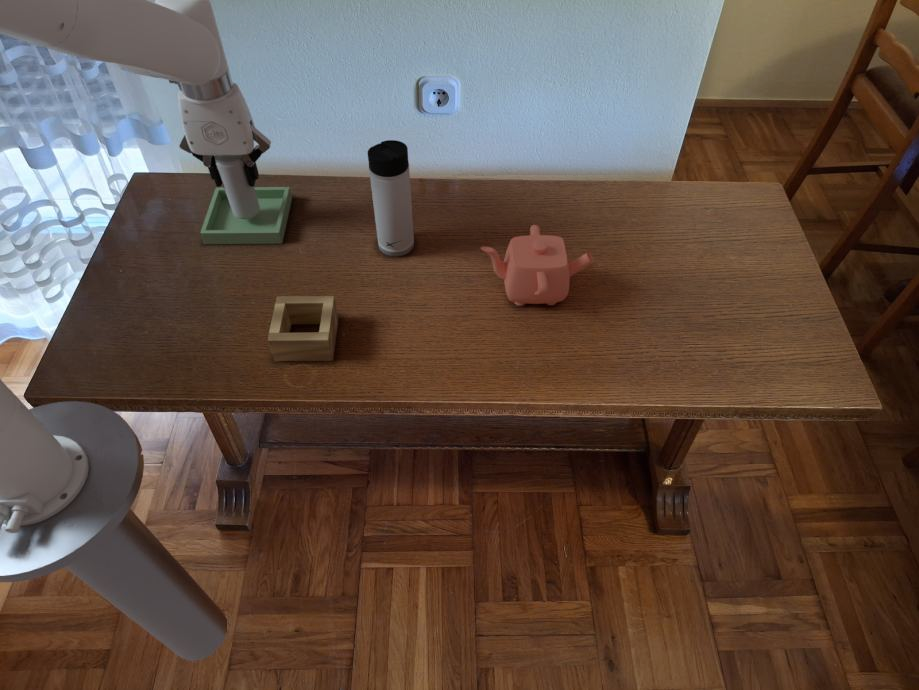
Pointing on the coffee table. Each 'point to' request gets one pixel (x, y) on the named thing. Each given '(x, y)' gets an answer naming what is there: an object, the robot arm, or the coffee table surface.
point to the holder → (303, 344)
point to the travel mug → (391, 197)
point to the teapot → (536, 268)
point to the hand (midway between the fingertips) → (236, 180)
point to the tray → (255, 230)
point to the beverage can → (237, 186)
